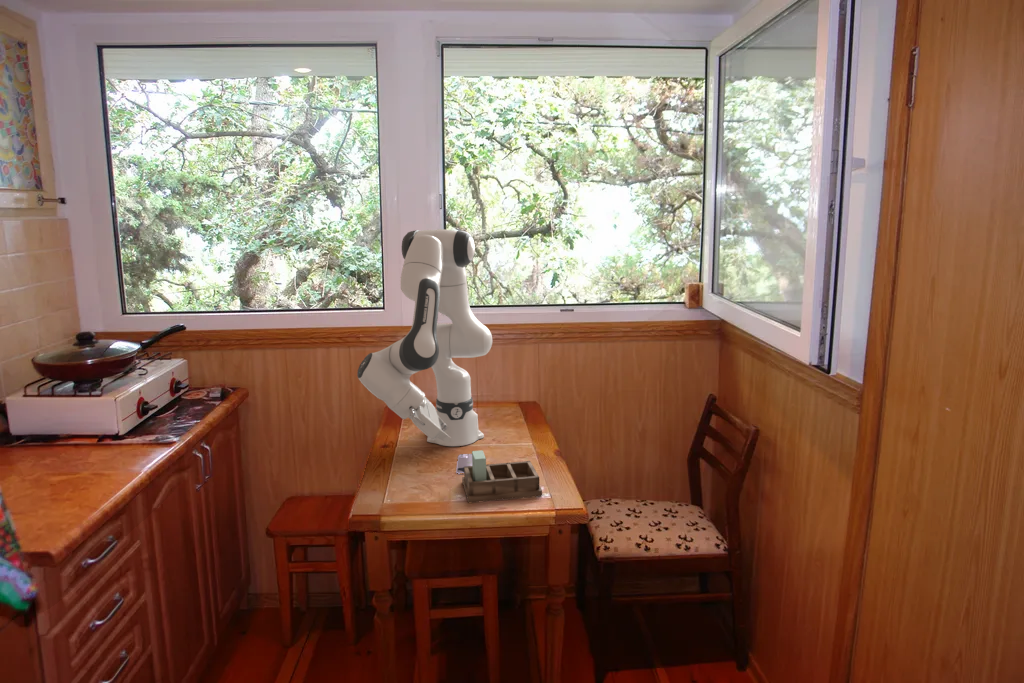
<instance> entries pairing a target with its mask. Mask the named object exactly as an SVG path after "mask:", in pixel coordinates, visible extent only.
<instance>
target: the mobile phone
mask: <svg viewBox="0 0 1024 683" xmlns="http://www.w3.org/2000/svg"><path fill="white" fill-rule="evenodd" d="M457 459H458V461H456V469H455V470H456V472H455V473H456V474H457V473H458V474H457V475H461V474H460V473H464V466H472V453H460V454H458V456H457Z"/></svg>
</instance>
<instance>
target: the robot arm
mask: <svg viewBox="0 0 1024 683" xmlns="http://www.w3.org/2000/svg"><path fill="white" fill-rule="evenodd" d="M474 240H475V239H474V237H473V236H472V235H471V234H470V232H468V231H465V230H461V229H459V230H454V229H453V230H452V229H443V228H440V229H439V228H437V229H427V230H417V229H416V230H415V229H414V230H412V231H408V232H407V233H406V234H405V235H404V236H403V238H402V240H401V241H402V242H401V253H402V254H401V255H402V258H403V259H404V261H403V264H402V270H401V274H400V290H401V292H402V293H403V295H404V296H405V297H406V298H408V299H409V300H411V301H413V302H414V308H413V318H412V324H411V328H410V330H409V331H408V332H407V334H406V335H405V336H404V337H402V338H401V339H399V340H397V341H395V342H394V343H392V344H390V345H389V346H387V347H385V348H383V349H381V350H378V351H375V352H369V353H368V354H367V355H366V356H364V359H363V360H362V361H361V362H360V364H359V366H358V369H357V373H356V374H357V378H358V380H359V382H360V383H361V384H362V385H363V386H364V388H365V389H367V390H368V392H370V393H371V394H372V395H374V396H375V398H376V399H379V400H380V401H382V402H384V403H385V404H386V406H387V407H388V408H389V409H390V410H391V411H392V412H394V413H395V414H396V415H397V416H398V417H400V418H401V420H407V419H409V420H411V422H412V423H413V424H414V426H415V427H417V429H419V430H420V431H421V432H422V433H423V434H424V436H425V435H426V436H427V437H426V438H427V439H426V442H428V443H433V444H437V445H440V446H444V447H460V446H461V447H462V446H467V445H471V444H473V443H475V442H476V441H478V440H481V439H484V438H485V434H484V433H483V432H482V431H481V430H480V429H479V420H478V419H479V418H478V417H479V415H478V413H476V412H475V410H473V408H474V407H473V406H474V401H473V397H472V381H471V380H472V378H471V376H470V373H469V372H468V371H467V370H466V369H464V368H462V367H460V366H458V364H456V363H455V362H454V361H453V359H452V358H463V359H464V358H465V359H466V358H470V359H471V358H477V357H478V358H479V357H483V356H486V355H487V354H488V353H489V352H490V351H491V348H492V346H493V335H492V332H491V331H490V329H489V328H488V327H487V326H486V325H485V324H483V323H482V322H481V321H480V320H479V319H477V317H476V316H475V314H474V313H473V311H472V309H471V307H470V302H469V296H468V295H469V294H468V292H469V291H468V281H467V280H468V279H467V278H468V277H467V270H466V266H468V265H469V264H470V263H472V262H473V260H474V258H475V252H476V245H475V241H474ZM439 314H442V315H444V316H445V317H447V318H449V319H450V321H451V323H438V320H439ZM430 368H431V369H432V372H433V374H434V377H435V382H436V394H437V395H436V401H435V405H436V407H435V405H434V404H433V403H432V402H431V401H430V400H429V399H428V398H427V397H426V393H425V392H424V391H423V390H421V389H420V387H419V386H417V385H416V384H415V383H413V382H412V381H411V379H410V378H411V376H412V375H415V374H416V373H418V372H421V371H423V370H428V369H430Z"/></svg>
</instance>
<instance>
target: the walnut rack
mask: <svg viewBox="0 0 1024 683" xmlns="http://www.w3.org/2000/svg"><path fill="white" fill-rule="evenodd" d="M461 479H462V485H464V486H463V489H464V491H465V496H466V495H467V496H466V498H467V502H468V503H469V502H472V503H480V502H479V501H483V502H491V501H493V502H494V501H501V500H503V499H504V500H513V499H522V498H523V497H524V498H533V497H532V496H535V497H542V496H543V490H542V488H541V486H540V476H539V474H538V473H537V471H536V469H535V467H534V465H533V464H532V462H531V460H524V461H523V460H522V461H511V462H502V463H501V462H500V463H490V464H487V463H486V481H475V482H473V471H472V466H464V474H463V476H462V478H461ZM541 495H542V496H541ZM524 498H523V499H524Z"/></svg>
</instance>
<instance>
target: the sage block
mask: <svg viewBox="0 0 1024 683" xmlns="http://www.w3.org/2000/svg"><path fill="white" fill-rule="evenodd" d="M471 454H472V471H473V482H475V481H486V465H487V458H486V456H485V453H484V450H483V449H482V450H472V451H471Z"/></svg>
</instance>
